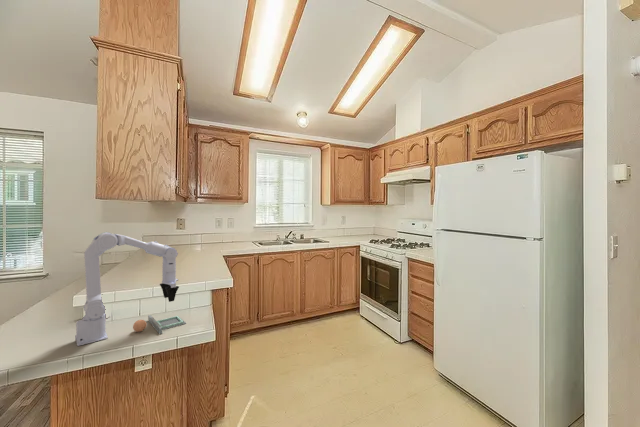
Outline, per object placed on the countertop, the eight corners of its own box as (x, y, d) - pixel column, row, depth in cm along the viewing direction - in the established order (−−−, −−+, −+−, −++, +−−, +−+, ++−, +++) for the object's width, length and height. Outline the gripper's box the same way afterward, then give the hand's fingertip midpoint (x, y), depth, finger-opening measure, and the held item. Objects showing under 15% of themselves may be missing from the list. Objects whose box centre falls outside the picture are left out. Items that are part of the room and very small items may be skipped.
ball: (134, 335, 115) (134, 323, 115) (131, 331, 118) (131, 320, 118) (147, 331, 118) (147, 320, 118) (145, 327, 122) (145, 316, 122)
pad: (159, 330, 119) (159, 328, 119) (153, 323, 127) (153, 320, 127) (186, 323, 127) (186, 321, 127) (178, 317, 134) (178, 314, 134)
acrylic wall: (159, 334, 116) (159, 328, 116) (148, 320, 130) (148, 315, 130) (162, 333, 116) (162, 327, 116) (150, 319, 131) (150, 314, 131)
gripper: (182, 272, 128) (182, 301, 128) (173, 267, 139) (173, 294, 139) (166, 275, 123) (166, 304, 123) (158, 270, 134) (158, 297, 134)
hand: (169, 299), depth 131 cm, fingers open, 7 cm apart
